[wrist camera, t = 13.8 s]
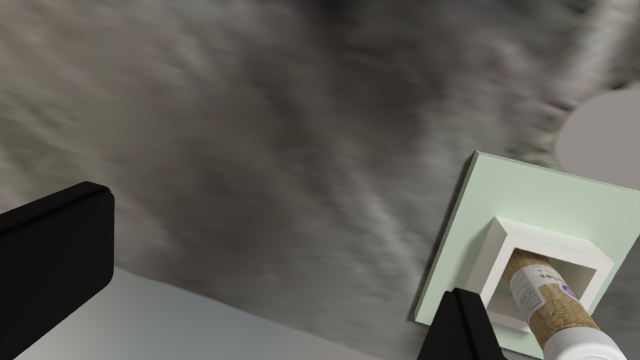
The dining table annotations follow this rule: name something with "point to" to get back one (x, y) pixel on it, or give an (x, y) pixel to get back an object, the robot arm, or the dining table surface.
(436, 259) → the chute mount
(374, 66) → the dining table surface
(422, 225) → the dining table surface
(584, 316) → the sprinkles bottle
